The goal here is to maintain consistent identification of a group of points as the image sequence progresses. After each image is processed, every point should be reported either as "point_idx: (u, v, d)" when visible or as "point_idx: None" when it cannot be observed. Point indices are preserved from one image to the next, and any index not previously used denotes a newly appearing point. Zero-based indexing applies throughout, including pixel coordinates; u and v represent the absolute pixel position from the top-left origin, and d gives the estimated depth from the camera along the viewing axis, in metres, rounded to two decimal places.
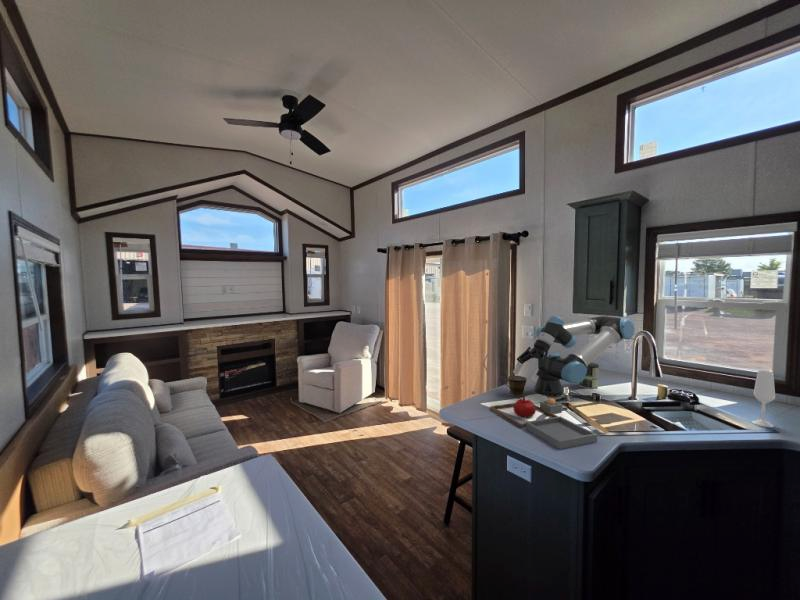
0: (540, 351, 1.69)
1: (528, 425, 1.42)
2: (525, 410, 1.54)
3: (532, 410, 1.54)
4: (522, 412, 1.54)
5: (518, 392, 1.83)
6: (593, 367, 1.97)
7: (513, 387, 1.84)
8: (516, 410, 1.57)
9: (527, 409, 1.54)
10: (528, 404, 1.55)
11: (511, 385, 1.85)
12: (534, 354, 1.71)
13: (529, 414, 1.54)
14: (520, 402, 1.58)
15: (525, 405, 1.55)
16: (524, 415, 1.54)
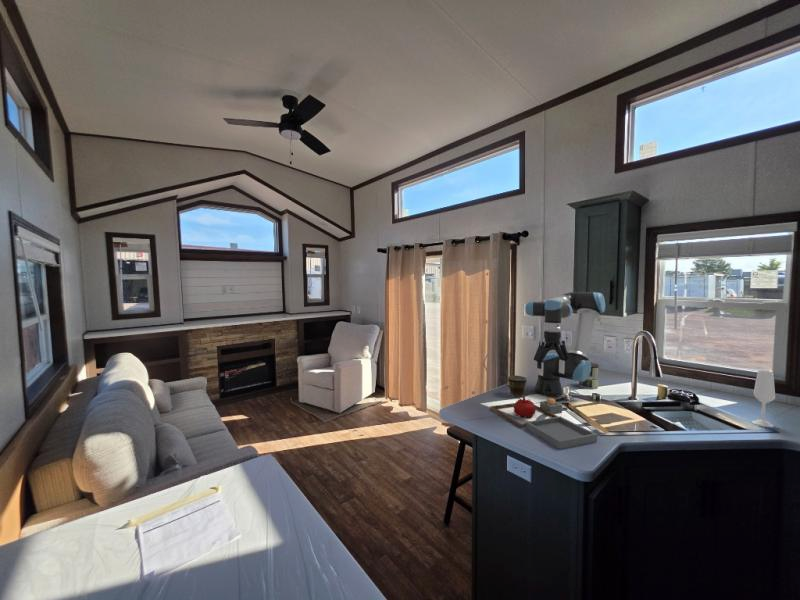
0: (557, 342, 1.62)
1: (528, 425, 1.42)
2: (525, 410, 1.54)
3: (532, 410, 1.54)
4: (522, 412, 1.54)
5: (518, 392, 1.83)
6: (593, 367, 1.97)
7: (513, 387, 1.84)
8: (516, 410, 1.57)
9: (527, 409, 1.54)
10: (528, 404, 1.55)
11: (511, 385, 1.85)
12: (553, 347, 1.61)
13: (529, 414, 1.54)
14: (520, 402, 1.58)
15: (525, 405, 1.55)
16: (524, 415, 1.54)
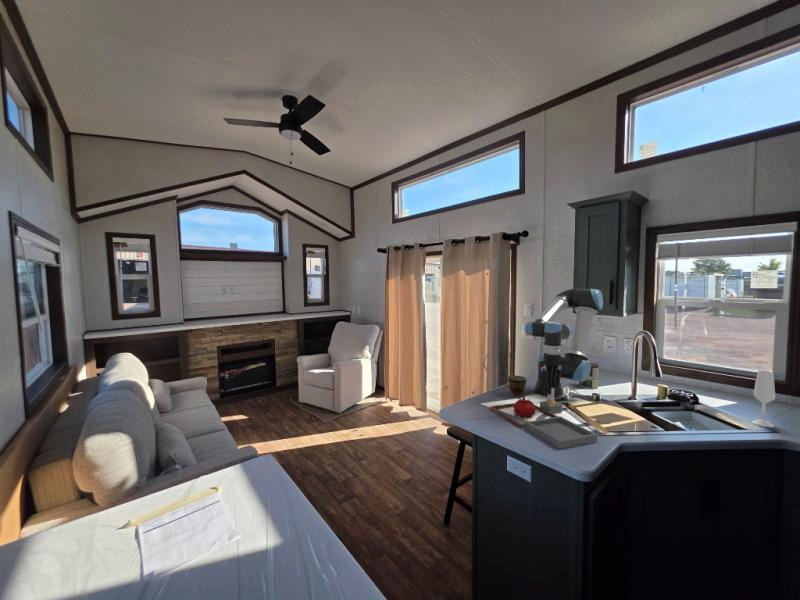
0: (557, 363, 1.62)
1: (528, 425, 1.42)
2: (525, 410, 1.54)
3: (532, 410, 1.54)
4: (522, 412, 1.54)
5: (518, 392, 1.83)
6: (593, 367, 1.97)
7: (513, 387, 1.84)
8: (516, 410, 1.57)
9: (527, 409, 1.54)
10: (528, 404, 1.55)
11: (511, 385, 1.85)
12: (552, 370, 1.61)
13: (529, 414, 1.54)
14: (520, 402, 1.58)
15: (525, 405, 1.55)
16: (524, 415, 1.54)
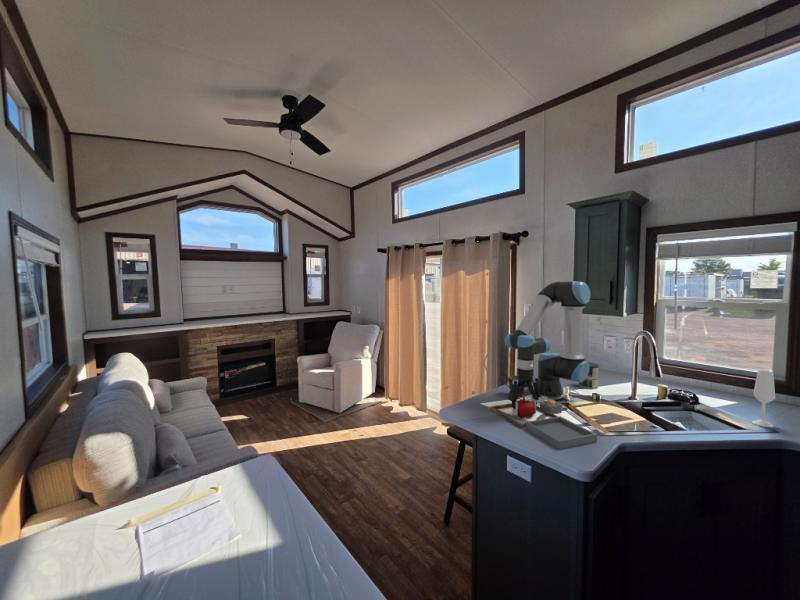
0: (530, 379, 1.57)
1: (528, 425, 1.42)
2: (525, 410, 1.54)
3: (532, 410, 1.54)
4: (522, 412, 1.54)
5: None
6: (593, 367, 1.97)
7: None
8: None
9: (527, 409, 1.54)
10: (528, 404, 1.55)
11: None
12: (525, 385, 1.57)
13: (529, 414, 1.54)
14: (520, 402, 1.57)
15: (525, 405, 1.55)
16: (524, 415, 1.54)
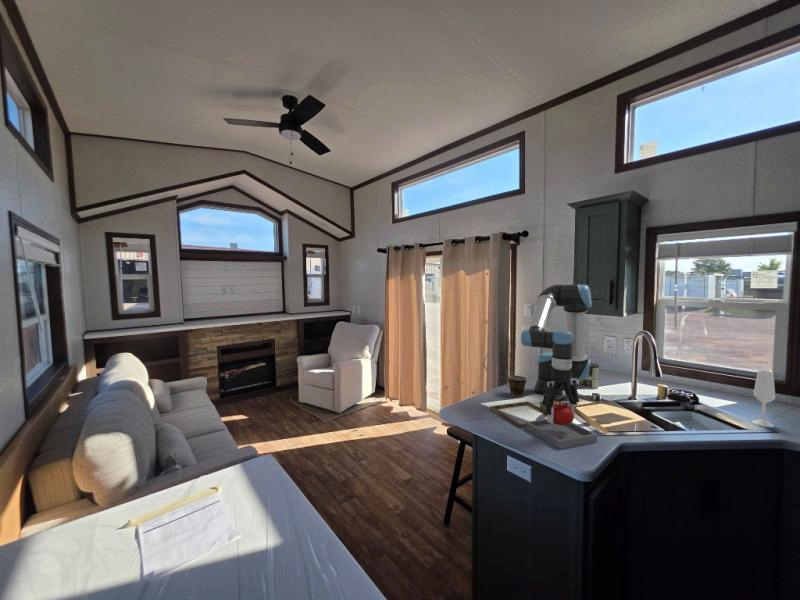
0: (567, 381, 1.36)
1: (528, 425, 1.42)
2: (562, 417, 1.33)
3: (571, 417, 1.33)
4: (558, 419, 1.33)
5: (518, 392, 1.83)
6: (593, 367, 1.97)
7: (513, 387, 1.84)
8: None
9: (565, 416, 1.33)
10: (566, 410, 1.34)
11: (511, 385, 1.85)
12: (562, 388, 1.36)
13: (567, 421, 1.33)
14: (556, 407, 1.36)
15: (562, 411, 1.34)
16: (561, 422, 1.33)
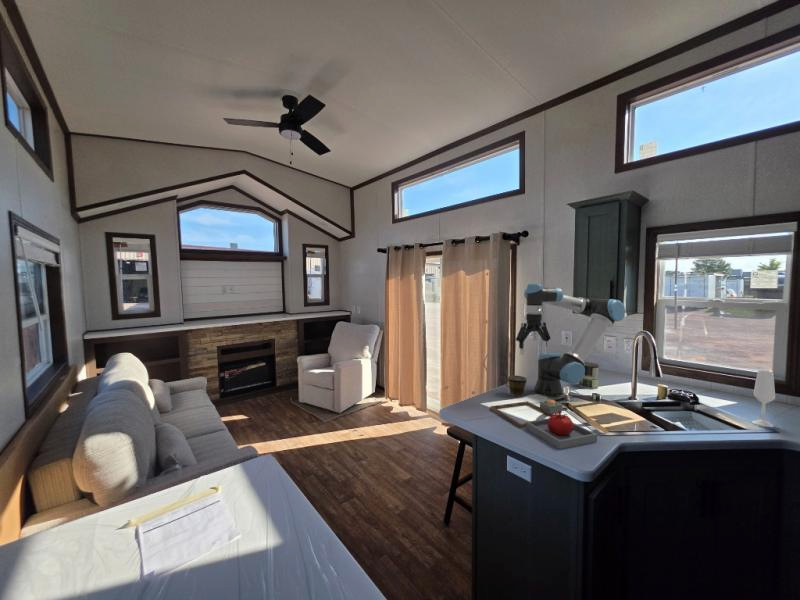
0: (538, 324, 1.71)
1: (528, 425, 1.42)
2: (562, 427, 1.33)
3: (570, 427, 1.33)
4: (558, 430, 1.33)
5: (518, 392, 1.83)
6: (593, 367, 1.97)
7: (513, 387, 1.84)
8: (551, 427, 1.36)
9: (565, 426, 1.33)
10: (565, 420, 1.35)
11: (511, 385, 1.85)
12: (534, 329, 1.70)
13: (567, 432, 1.33)
14: (556, 418, 1.37)
15: (562, 421, 1.34)
16: (561, 433, 1.33)
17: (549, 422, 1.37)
